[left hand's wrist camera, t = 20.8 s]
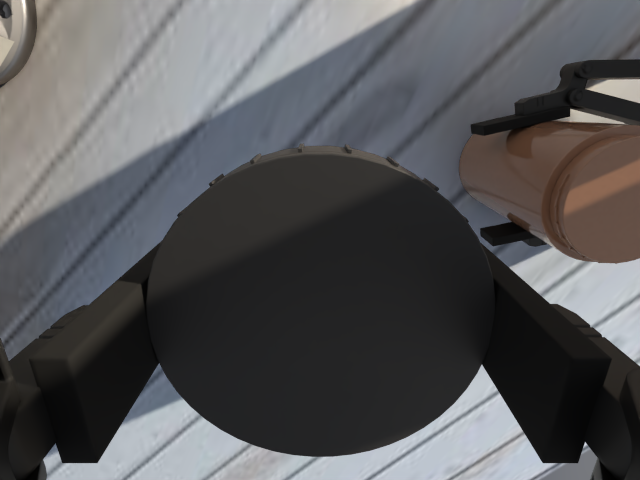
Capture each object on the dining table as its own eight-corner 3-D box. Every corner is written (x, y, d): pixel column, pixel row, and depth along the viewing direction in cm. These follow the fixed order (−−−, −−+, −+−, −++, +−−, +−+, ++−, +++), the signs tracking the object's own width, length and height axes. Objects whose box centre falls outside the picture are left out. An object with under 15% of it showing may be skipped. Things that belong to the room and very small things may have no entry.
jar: (445, 191, 39) (528, 250, 23) (480, 106, 36) (602, 105, 20) (522, 214, 40) (653, 286, 24) (562, 132, 37) (741, 152, 21)
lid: (534, 309, 12) (566, 340, 11) (311, 458, 14) (310, 502, 13) (335, 62, 10) (339, 54, 8) (103, 289, 12) (69, 319, 10)
